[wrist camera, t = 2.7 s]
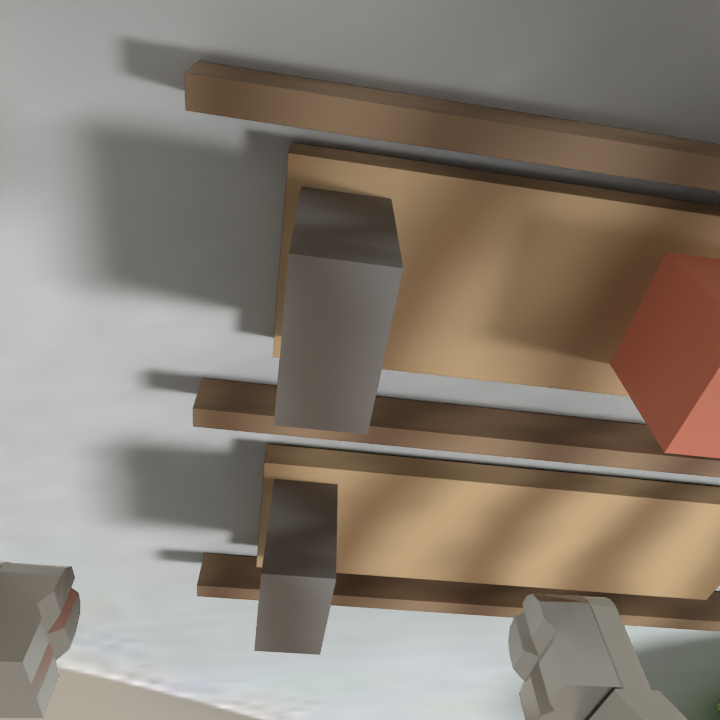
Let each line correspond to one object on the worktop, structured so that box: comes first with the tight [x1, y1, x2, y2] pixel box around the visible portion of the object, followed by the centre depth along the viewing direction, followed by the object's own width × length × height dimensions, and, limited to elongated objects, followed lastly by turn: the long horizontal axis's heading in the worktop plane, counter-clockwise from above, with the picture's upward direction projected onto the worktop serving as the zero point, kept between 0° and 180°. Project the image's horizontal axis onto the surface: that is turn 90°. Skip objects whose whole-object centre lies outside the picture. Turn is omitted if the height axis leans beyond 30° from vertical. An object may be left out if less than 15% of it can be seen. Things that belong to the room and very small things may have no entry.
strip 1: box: [273, 142, 720, 435], centre depth 20 cm, size 26×8×6 cm, turn 81°
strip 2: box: [255, 444, 720, 655], centre depth 28 cm, size 26×8×6 cm, turn 81°
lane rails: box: [185, 61, 720, 631], centre depth 26 cm, size 32×26×2 cm
